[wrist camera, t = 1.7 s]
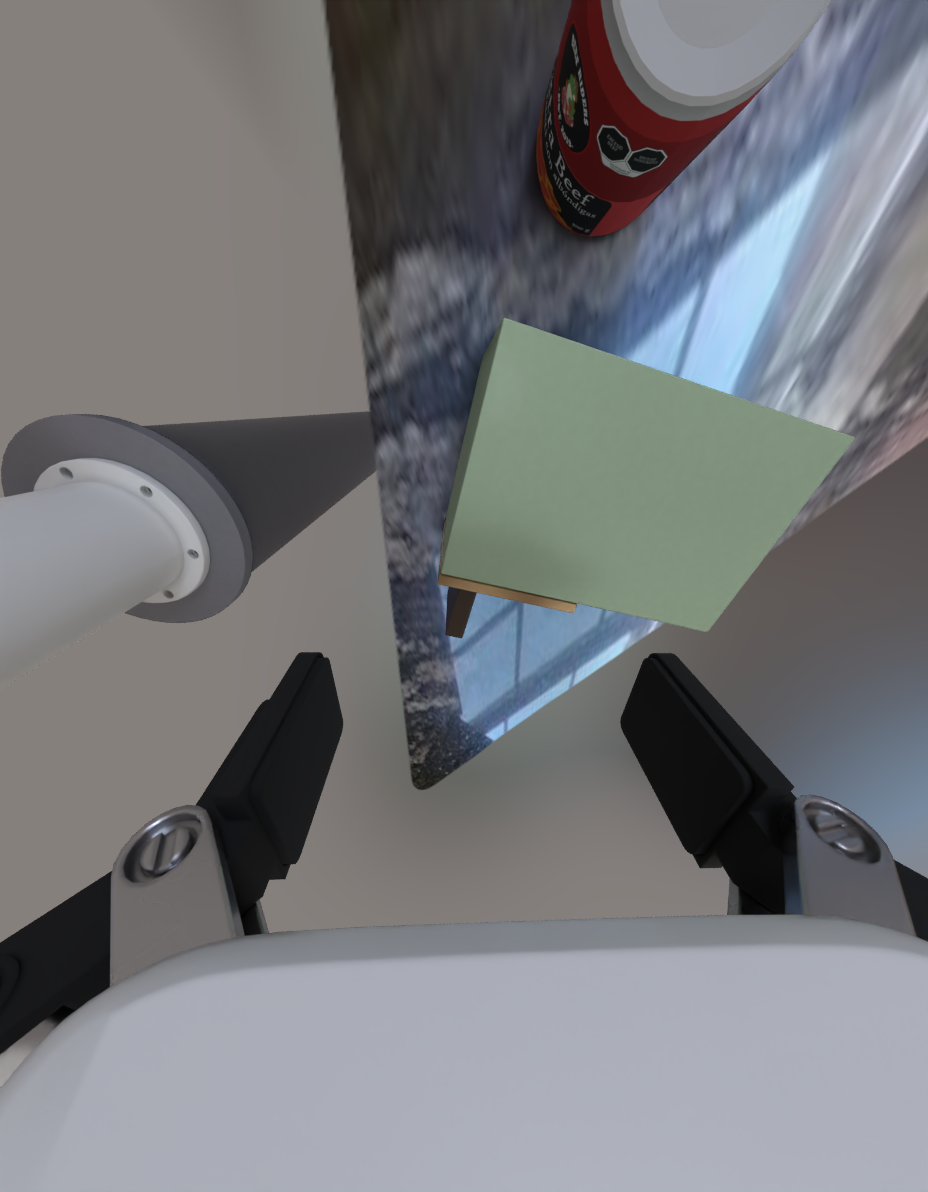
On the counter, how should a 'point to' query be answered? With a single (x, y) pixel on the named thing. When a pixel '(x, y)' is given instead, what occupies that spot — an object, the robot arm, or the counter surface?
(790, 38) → the canned food
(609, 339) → the counter surface
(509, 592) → the sliding door
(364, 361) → the counter surface
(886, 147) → the counter surface
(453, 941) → the robot arm
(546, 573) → the cupboard
